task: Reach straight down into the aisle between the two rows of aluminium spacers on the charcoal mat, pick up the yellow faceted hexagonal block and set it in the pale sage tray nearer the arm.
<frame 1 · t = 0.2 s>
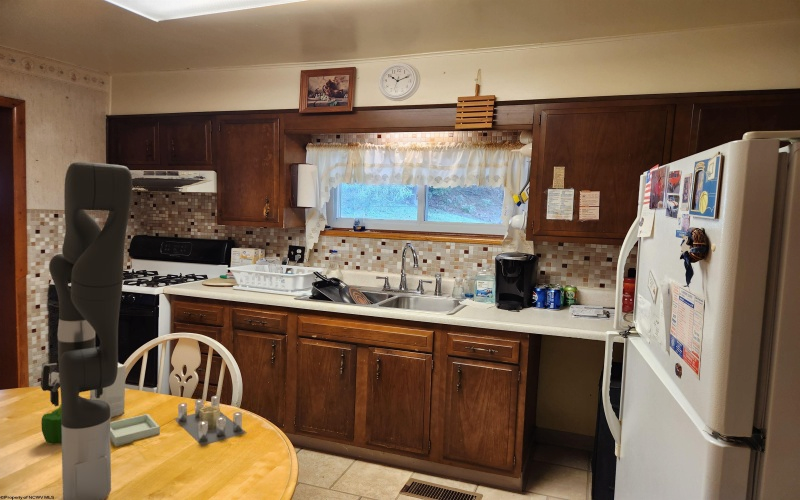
hand: (77, 401, 122), 17 cm above the table, tool pointing down, fingers open, 8 cm apart
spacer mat: (209, 427, 149), on the table
standing spacers: (209, 417, 148), on the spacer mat
bell pepper: (61, 441, 137), on the table
yellow faceted hexagonal block: (209, 417, 148), on the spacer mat
skincare box: (108, 414, 155), on the table
sage parts tray: (132, 433, 143), on the table
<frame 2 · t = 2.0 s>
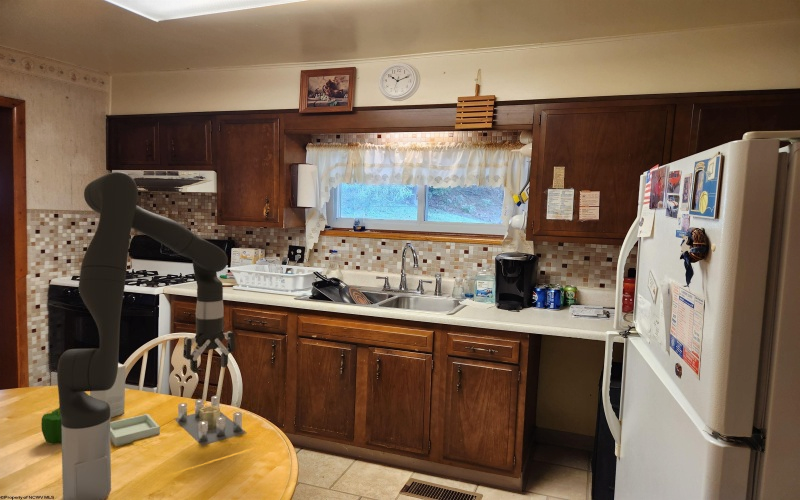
hand: (209, 369, 147), 17 cm above the table, tool pointing down, fingers open, 8 cm apart
nothing on the table moved.
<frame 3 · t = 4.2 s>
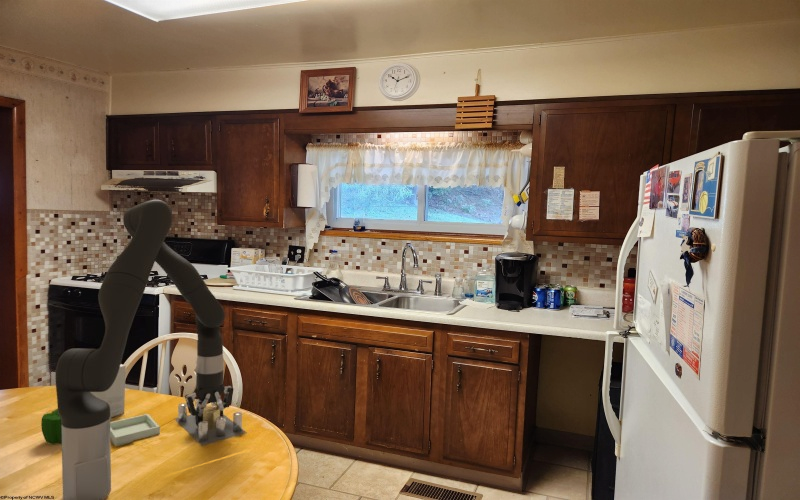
hand: (209, 424, 149), 1 cm above the table, tool pointing down, fingers closed on yellow faceted hexagonal block, 5 cm apart
yellow faceted hexagonal block: (209, 417, 148), on the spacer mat, touching gripper
everything else where it was.
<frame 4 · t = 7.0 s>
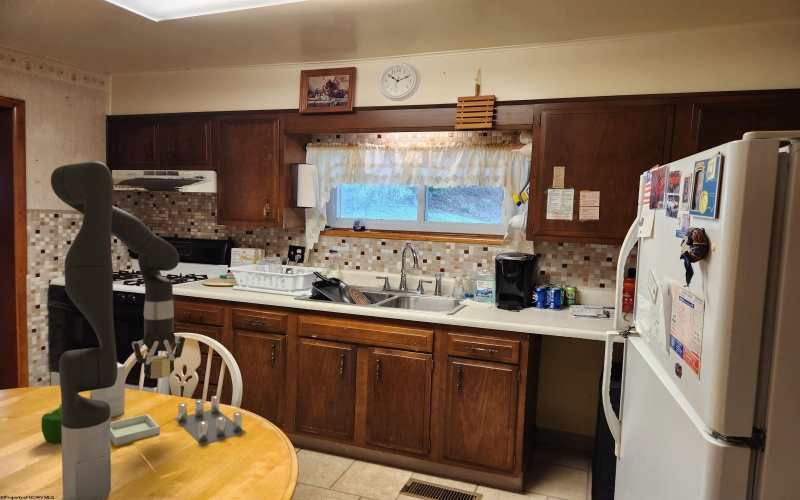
hand: (159, 374, 143), 17 cm above the table, tool pointing down, fingers closed on yellow faceted hexagonal block, 5 cm apart
yellow faceted hexagonal block: (159, 366, 143), point 19 cm above the table, touching gripper
everything else where it was.
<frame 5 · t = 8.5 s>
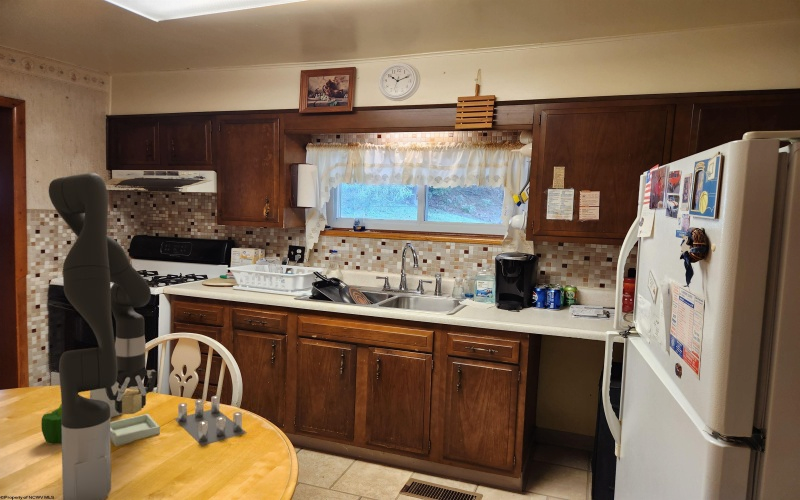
hand: (130, 409, 142), 7 cm above the table, tool pointing down, fingers closed on yellow faceted hexagonal block, 5 cm apart
yellow faceted hexagonal block: (130, 402, 142), point 9 cm above the table, touching gripper
everything else where it was.
when the fingers open (2 cm above the table, at t = 9.8 s): yellow faceted hexagonal block drops 1 cm, resting on sage parts tray.
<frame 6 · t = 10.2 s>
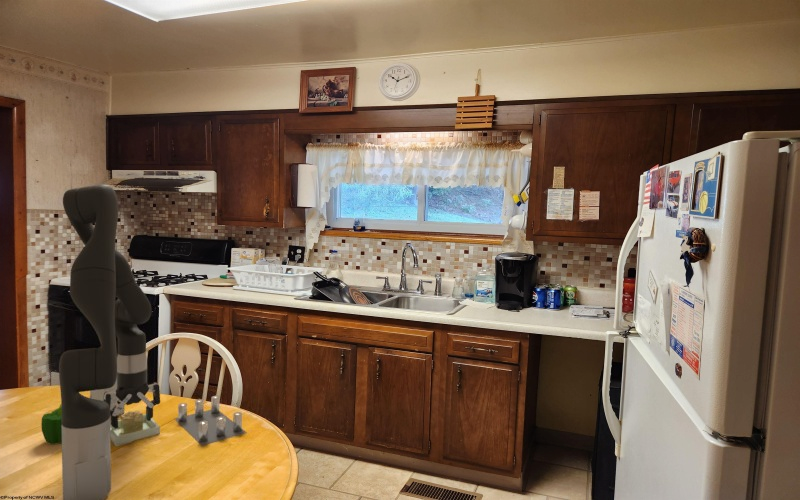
hand: (132, 423, 143), 3 cm above the table, tool pointing down, fingers open, 8 cm apart
yellow faceted hexagonal block: (131, 423, 143), in the sage parts tray
everything else where it was.
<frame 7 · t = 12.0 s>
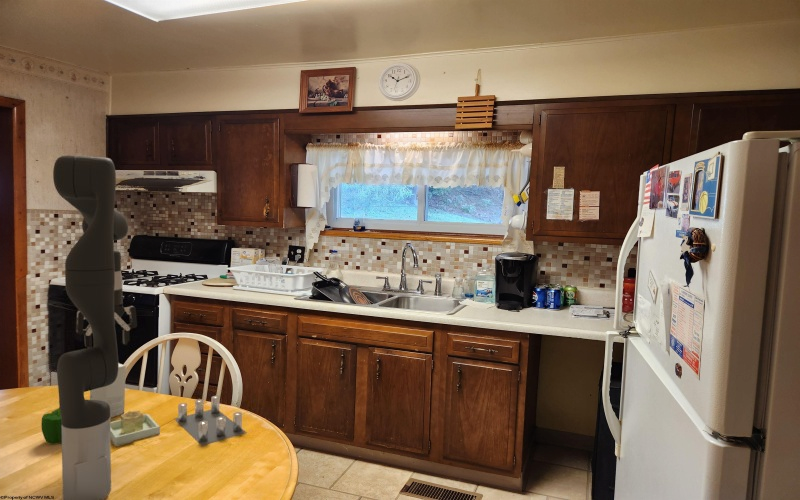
hand: (107, 346, 138), 26 cm above the table, tool pointing down, fingers open, 8 cm apart
nothing on the table moved.
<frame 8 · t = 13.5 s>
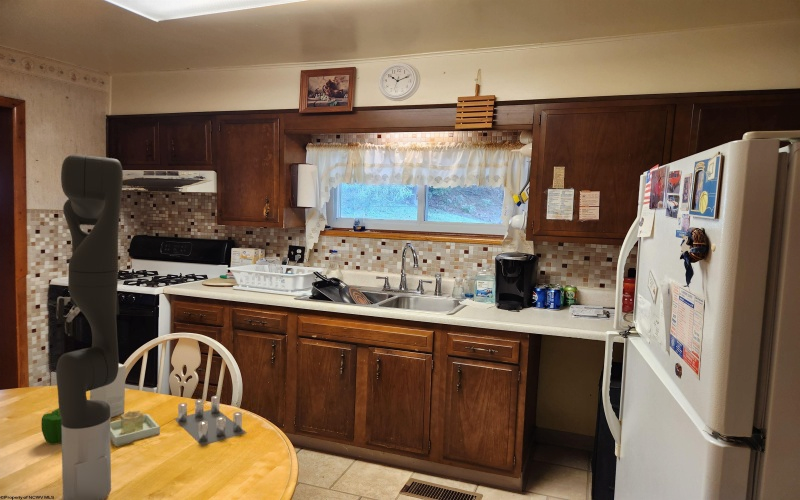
hand: (89, 333, 135), 30 cm above the table, tool pointing down, fingers open, 8 cm apart
nothing on the table moved.
at the end: yellow faceted hexagonal block inside the target area on the sage parts tray (0.1 cm from its centre), point 3.0 cm above the sage parts tray's base; the gripper is holding nothing; yellow faceted hexagonal block tilted 0° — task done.
